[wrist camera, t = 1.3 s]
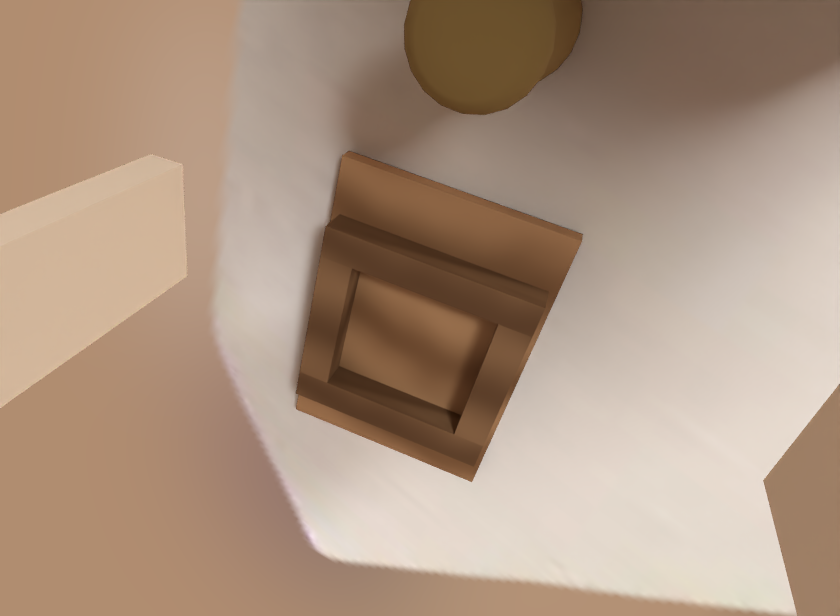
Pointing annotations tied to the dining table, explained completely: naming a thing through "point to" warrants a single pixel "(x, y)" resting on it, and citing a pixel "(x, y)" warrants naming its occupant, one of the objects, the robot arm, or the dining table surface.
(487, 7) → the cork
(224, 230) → the dining table surface
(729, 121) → the dining table surface
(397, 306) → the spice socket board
